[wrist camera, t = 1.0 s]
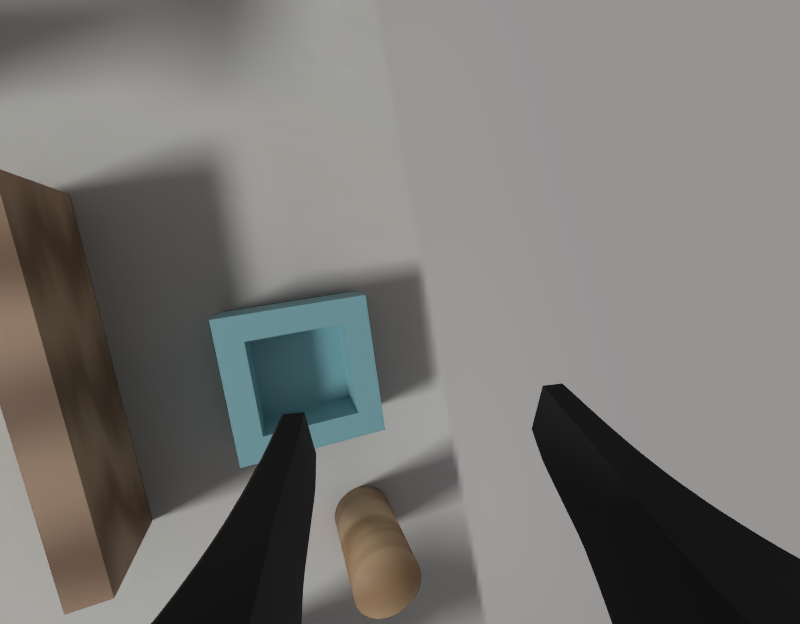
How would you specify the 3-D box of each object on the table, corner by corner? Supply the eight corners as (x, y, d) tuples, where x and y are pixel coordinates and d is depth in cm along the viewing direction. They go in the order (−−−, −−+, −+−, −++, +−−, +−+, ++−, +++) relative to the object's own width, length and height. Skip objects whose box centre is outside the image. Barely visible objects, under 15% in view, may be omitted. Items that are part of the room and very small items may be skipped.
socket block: (371, 409, 28) (385, 429, 24) (245, 440, 25) (240, 468, 22) (353, 291, 26) (365, 294, 23) (218, 312, 24) (208, 320, 20)
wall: (152, 520, 24) (113, 598, 18) (115, 531, 24) (64, 614, 18) (69, 194, 21) (-8, 166, 15) (24, 197, 21) (-72, 170, 15)
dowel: (391, 527, 29) (424, 602, 23) (339, 545, 28) (359, 629, 22) (384, 479, 29) (416, 542, 22) (331, 495, 28) (348, 567, 21)
